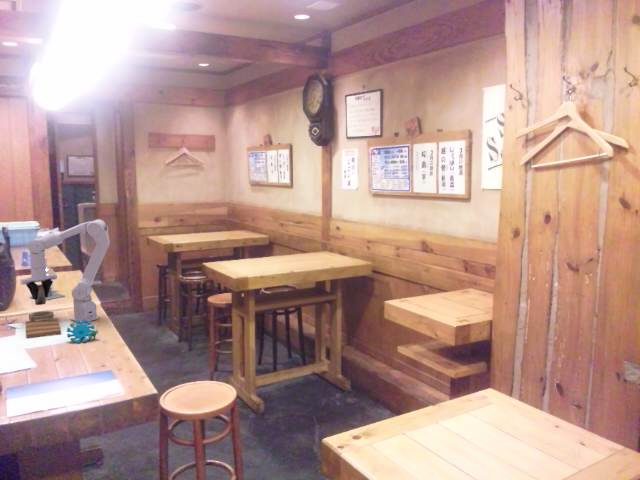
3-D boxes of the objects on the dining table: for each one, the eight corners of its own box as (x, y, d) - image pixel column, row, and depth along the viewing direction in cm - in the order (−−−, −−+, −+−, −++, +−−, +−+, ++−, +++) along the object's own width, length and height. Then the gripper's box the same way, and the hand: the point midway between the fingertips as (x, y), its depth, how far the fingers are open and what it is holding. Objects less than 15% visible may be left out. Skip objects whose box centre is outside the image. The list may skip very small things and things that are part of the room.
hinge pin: (47, 303, 231) (46, 285, 230) (38, 305, 227) (37, 286, 226) (42, 302, 233) (41, 284, 232) (33, 304, 230) (32, 285, 229)
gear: (63, 340, 200) (70, 317, 206) (65, 347, 205) (72, 324, 211) (94, 343, 202) (100, 319, 208) (95, 350, 207) (102, 327, 213)
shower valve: (49, 283, 282) (65, 286, 274) (49, 293, 283) (66, 297, 274) (25, 287, 272) (41, 291, 263) (26, 298, 272) (42, 302, 264)
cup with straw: (50, 295, 277) (47, 257, 274) (34, 294, 278) (31, 256, 275) (60, 291, 285) (58, 254, 282) (44, 290, 286) (42, 253, 284)
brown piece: (60, 333, 213) (60, 326, 213) (26, 338, 207) (26, 330, 207) (56, 316, 238) (56, 309, 238) (25, 319, 232) (25, 313, 232)
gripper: (50, 263, 236) (51, 293, 238) (16, 268, 224) (18, 300, 226) (58, 265, 232) (60, 296, 234) (24, 270, 220) (26, 302, 222)
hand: (40, 298), depth 230 cm, fingers closed on hinge pin, 4 cm apart
